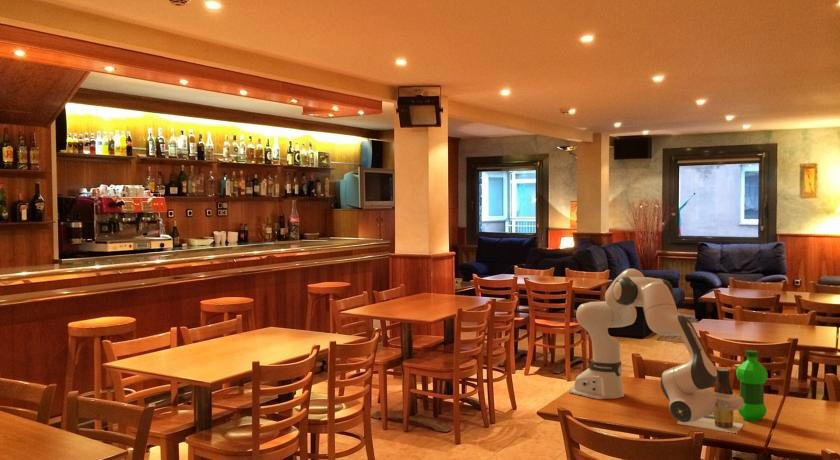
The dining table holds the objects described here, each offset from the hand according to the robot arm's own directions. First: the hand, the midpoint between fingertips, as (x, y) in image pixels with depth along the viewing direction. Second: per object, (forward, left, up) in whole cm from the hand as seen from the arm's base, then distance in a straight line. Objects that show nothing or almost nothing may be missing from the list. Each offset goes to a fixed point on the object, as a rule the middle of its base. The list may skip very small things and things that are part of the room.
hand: (720, 394), depth 241 cm
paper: (-4, +4, -12) cm, 14 cm away
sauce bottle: (0, +4, -12) cm, 13 cm away
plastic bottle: (+7, +19, -13) cm, 24 cm away
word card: (-4, +14, -12) cm, 19 cm away
